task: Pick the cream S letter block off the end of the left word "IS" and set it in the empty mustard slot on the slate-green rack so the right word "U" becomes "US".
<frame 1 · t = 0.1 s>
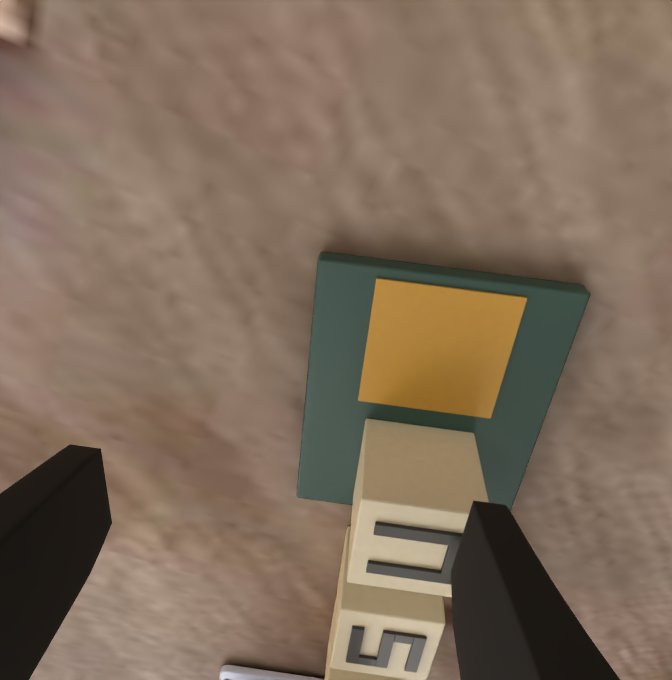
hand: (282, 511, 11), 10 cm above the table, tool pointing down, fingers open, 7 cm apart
word rack: (422, 397, 21), on the table
S block: (385, 561, 26), on the table
I block: (371, 627, 29), on the table
U block: (410, 465, 22), point 1 cm above the table, touching word rack
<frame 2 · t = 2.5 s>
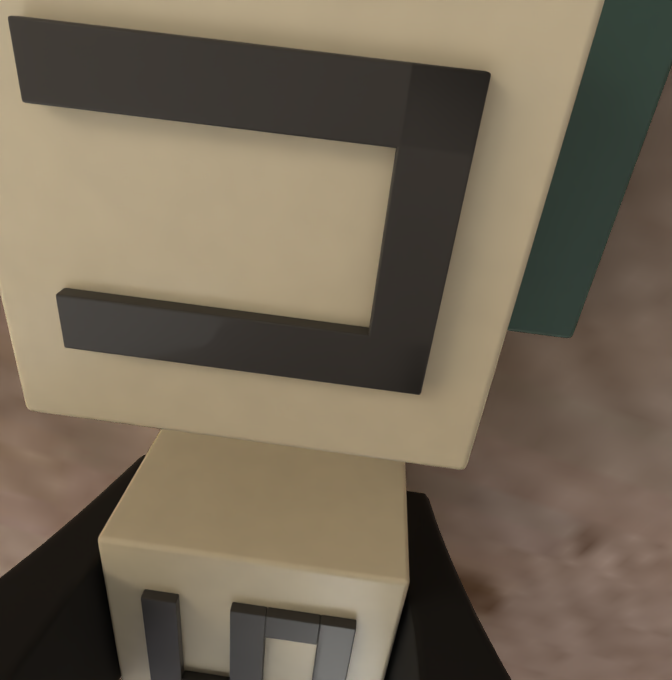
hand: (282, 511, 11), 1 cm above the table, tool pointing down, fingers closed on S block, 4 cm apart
S block: (292, 462, 12), on the table, touching gripper
U block: (315, 135, 8), point 1 cm above the table, touching word rack
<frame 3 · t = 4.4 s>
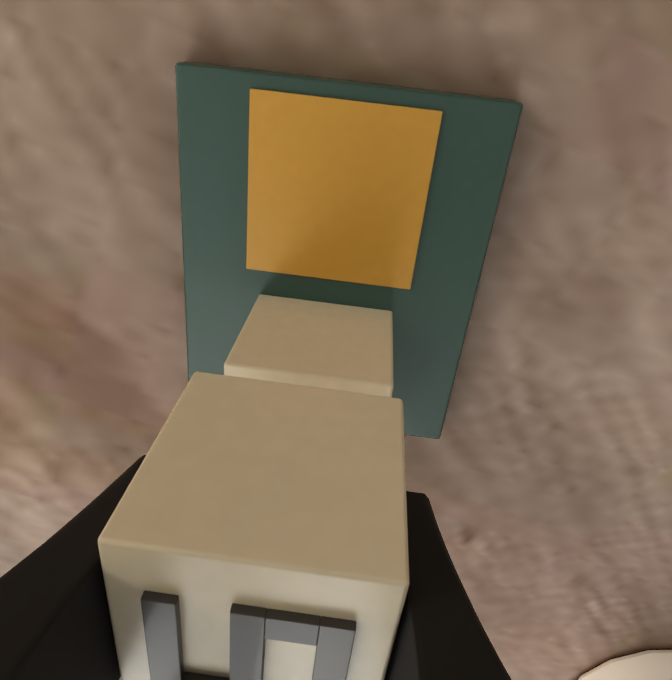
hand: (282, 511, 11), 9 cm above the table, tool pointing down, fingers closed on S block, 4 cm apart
word rack: (330, 271, 17), on the table
inkwell: (646, 645, 25), on the table
S block: (292, 462, 12), point 7 cm above the table, touching gripper
U block: (320, 358, 18), point 1 cm above the table, touching word rack
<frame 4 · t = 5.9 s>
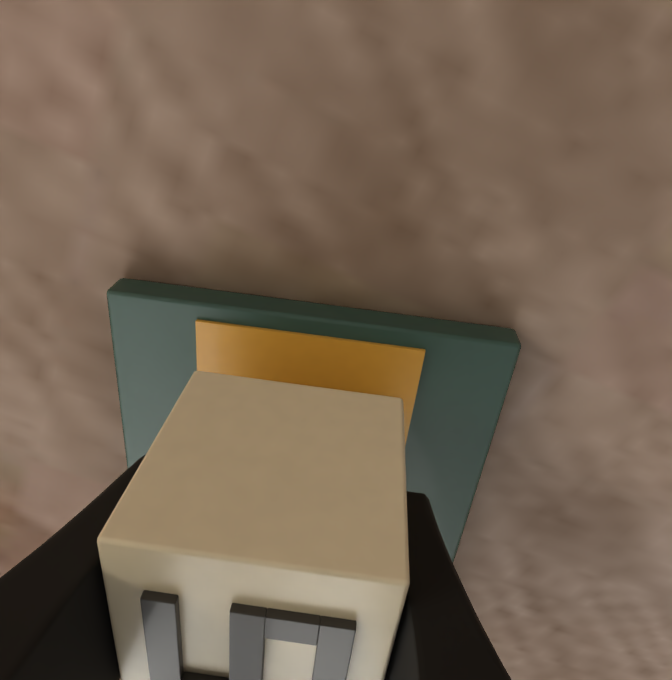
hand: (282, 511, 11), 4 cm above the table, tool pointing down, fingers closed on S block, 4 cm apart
word rack: (299, 480, 15), on the table
S block: (291, 462, 12), point 2 cm above the table, touching gripper
when the fingers open (2 cm above the table, at t = 6.7 s): S block stays where it is, resting on word rack.
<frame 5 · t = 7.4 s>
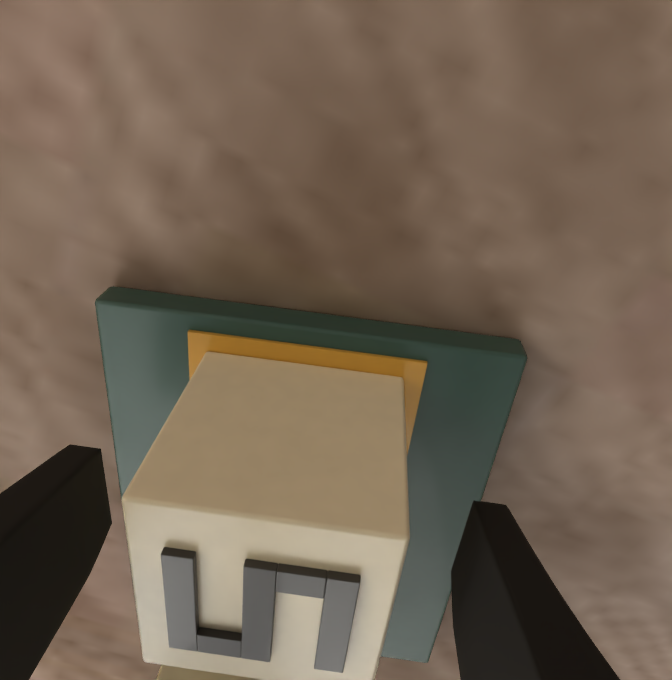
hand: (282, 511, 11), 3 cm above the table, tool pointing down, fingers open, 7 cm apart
word rack: (297, 493, 14), on the table
S block: (297, 439, 12), point 1 cm above the table, touching word rack
U block: (286, 586, 15), point 1 cm above the table, touching word rack
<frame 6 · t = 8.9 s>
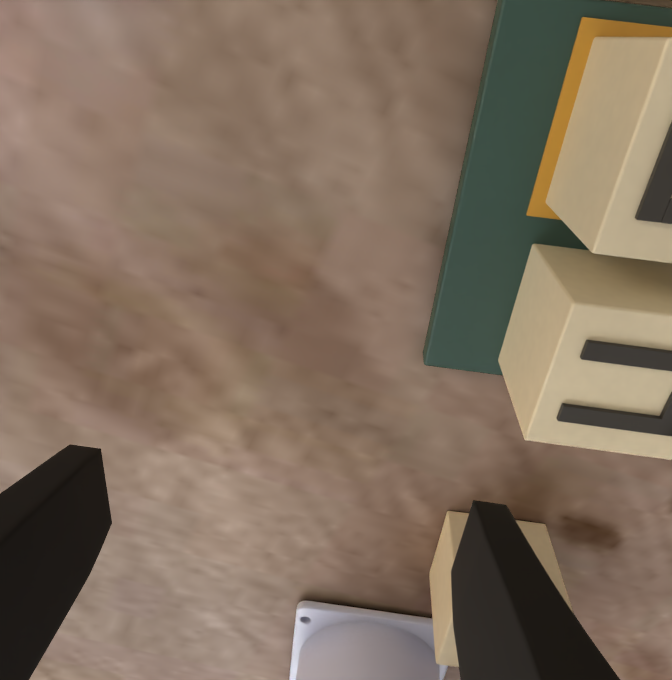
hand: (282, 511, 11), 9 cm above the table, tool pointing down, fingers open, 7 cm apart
word rack: (601, 220, 17), on the table
S block: (645, 135, 14), point 1 cm above the table, touching word rack
I block: (484, 549, 24), on the table
U block: (579, 313, 17), point 1 cm above the table, touching word rack
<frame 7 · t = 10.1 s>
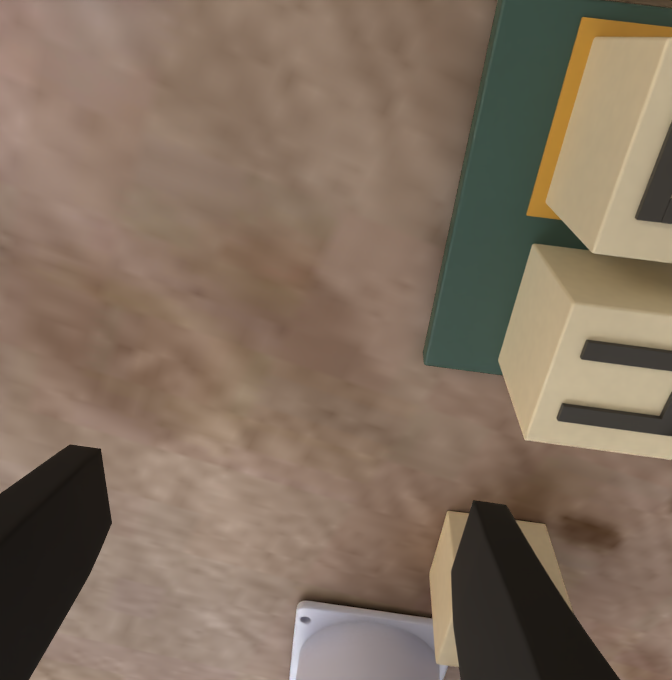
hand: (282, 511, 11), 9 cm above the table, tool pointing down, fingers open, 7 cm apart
word rack: (601, 220, 17), on the table
S block: (645, 135, 14), point 1 cm above the table, touching word rack
I block: (484, 549, 24), on the table
U block: (579, 313, 17), point 1 cm above the table, touching word rack
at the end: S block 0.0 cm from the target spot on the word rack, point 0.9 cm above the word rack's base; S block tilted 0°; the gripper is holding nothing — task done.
